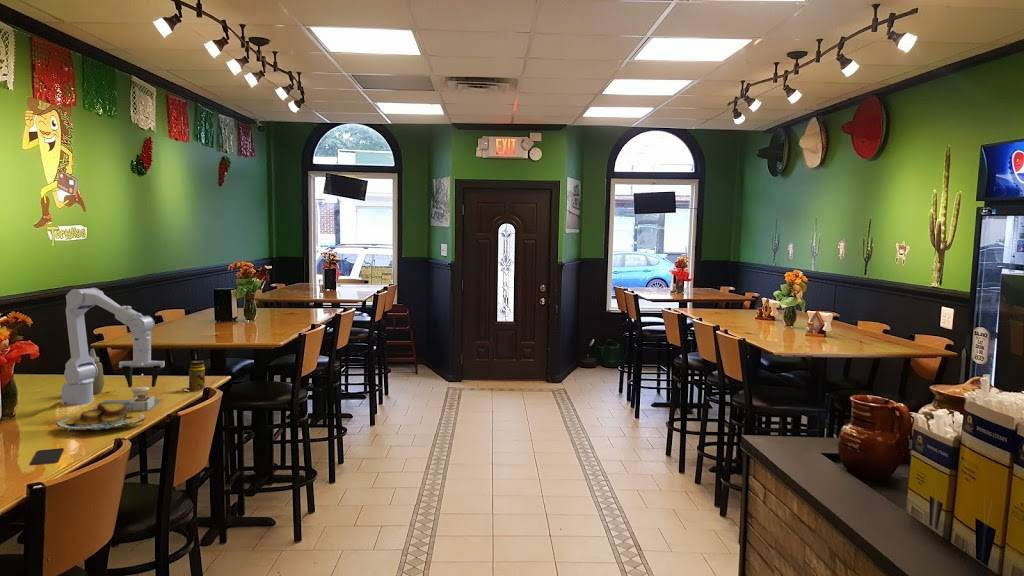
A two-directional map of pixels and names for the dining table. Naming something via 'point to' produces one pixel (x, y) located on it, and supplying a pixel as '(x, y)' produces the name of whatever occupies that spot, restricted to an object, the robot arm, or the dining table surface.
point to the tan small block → (142, 396)
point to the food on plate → (101, 417)
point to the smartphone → (47, 456)
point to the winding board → (134, 404)
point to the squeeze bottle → (99, 379)
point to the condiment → (196, 376)
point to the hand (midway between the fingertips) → (142, 386)
